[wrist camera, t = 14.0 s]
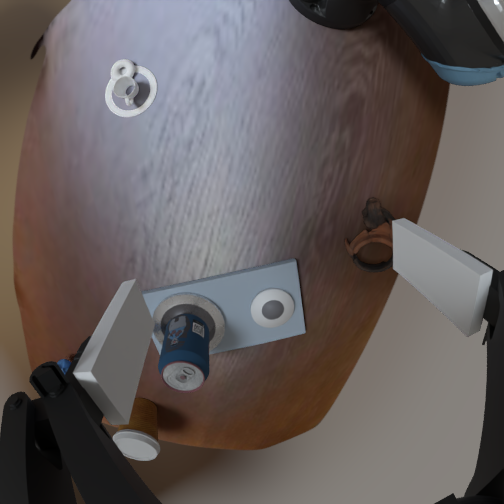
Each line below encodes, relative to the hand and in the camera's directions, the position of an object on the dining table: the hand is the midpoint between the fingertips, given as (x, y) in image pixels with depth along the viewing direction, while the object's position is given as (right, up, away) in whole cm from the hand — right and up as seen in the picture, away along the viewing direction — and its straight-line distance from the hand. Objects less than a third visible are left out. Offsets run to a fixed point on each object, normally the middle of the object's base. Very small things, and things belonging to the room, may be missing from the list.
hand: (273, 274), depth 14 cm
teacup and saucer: (-16, +26, +21) cm, 38 cm away
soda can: (-11, -11, +33) cm, 36 cm away
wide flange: (-11, -11, +34) cm, 37 cm away
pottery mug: (+18, +5, +33) cm, 38 cm away
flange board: (-6, -9, +35) cm, 37 cm away
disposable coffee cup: (-24, -32, +41) cm, 58 cm away
